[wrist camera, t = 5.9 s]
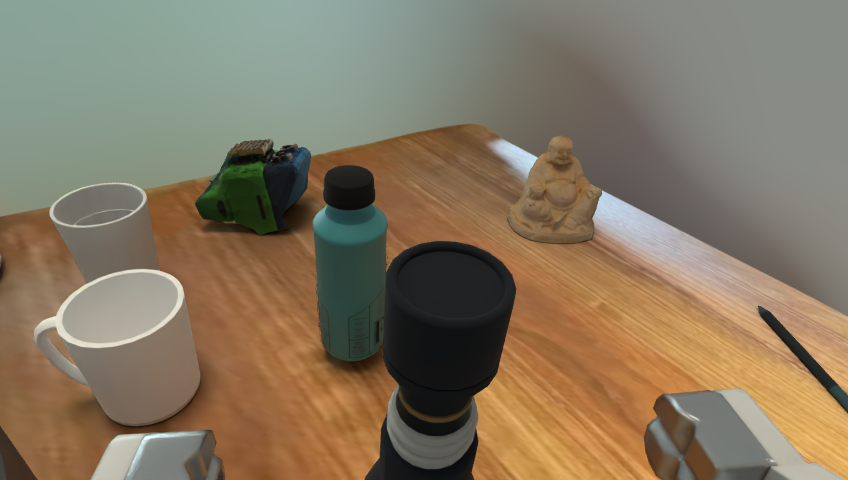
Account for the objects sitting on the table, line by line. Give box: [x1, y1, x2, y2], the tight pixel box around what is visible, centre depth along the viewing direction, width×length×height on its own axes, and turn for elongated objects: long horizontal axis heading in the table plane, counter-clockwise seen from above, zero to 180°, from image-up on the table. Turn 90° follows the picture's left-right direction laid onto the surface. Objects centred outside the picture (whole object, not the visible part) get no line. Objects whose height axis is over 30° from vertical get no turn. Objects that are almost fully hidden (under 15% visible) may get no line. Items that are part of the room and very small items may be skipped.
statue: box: [508, 136, 602, 243], centre depth 72 cm, size 12×14×10 cm
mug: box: [34, 269, 201, 426], centre depth 43 cm, size 11×9×10 cm
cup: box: [49, 183, 160, 284], centre depth 51 cm, size 8×8×12 cm
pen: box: [758, 305, 848, 411], centre depth 55 cm, size 1×16×1 cm, turn 6°
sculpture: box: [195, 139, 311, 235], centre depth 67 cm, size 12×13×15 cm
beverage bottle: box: [313, 165, 388, 361], centre depth 46 cm, size 6×7×20 cm
